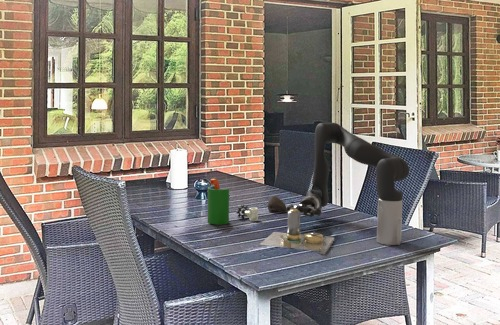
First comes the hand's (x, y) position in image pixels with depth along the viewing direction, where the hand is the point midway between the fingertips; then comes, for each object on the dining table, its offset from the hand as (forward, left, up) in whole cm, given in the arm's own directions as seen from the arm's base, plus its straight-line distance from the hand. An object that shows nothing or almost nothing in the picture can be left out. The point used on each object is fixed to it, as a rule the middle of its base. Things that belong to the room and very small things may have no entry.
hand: (300, 213), depth 216 cm
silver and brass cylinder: (0, +11, -8) cm, 13 cm away
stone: (+22, -39, -9) cm, 46 cm away
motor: (+40, -8, -9) cm, 42 cm away
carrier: (-2, +12, -9) cm, 15 cm away
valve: (+28, -16, -9) cm, 33 cm away
